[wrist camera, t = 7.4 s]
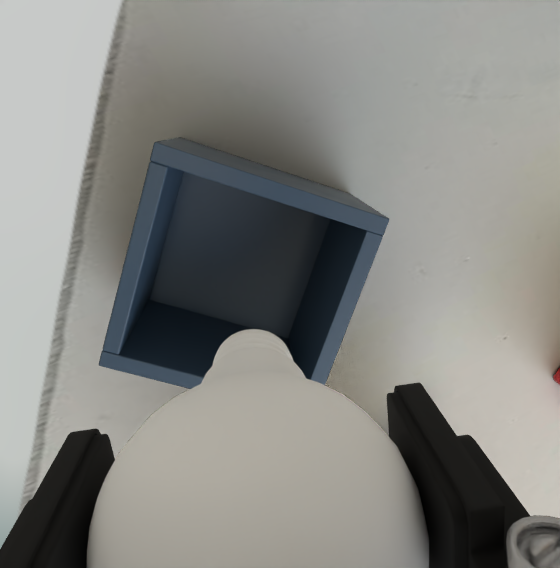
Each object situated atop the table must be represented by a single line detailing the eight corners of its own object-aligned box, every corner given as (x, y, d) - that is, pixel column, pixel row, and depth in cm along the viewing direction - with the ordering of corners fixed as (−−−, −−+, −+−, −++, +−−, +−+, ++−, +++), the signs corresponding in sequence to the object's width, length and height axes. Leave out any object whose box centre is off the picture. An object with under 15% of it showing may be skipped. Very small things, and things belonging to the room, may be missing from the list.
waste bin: (179, 136, 29) (154, 141, 21) (351, 193, 31) (390, 219, 23) (135, 304, 32) (97, 366, 24) (294, 348, 34) (311, 420, 25)
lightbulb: (363, 285, 17) (565, 559, 6) (319, 444, 18) (420, 869, 8) (176, 249, 16) (44, 493, 5) (148, 419, 18) (7, 854, 7)
